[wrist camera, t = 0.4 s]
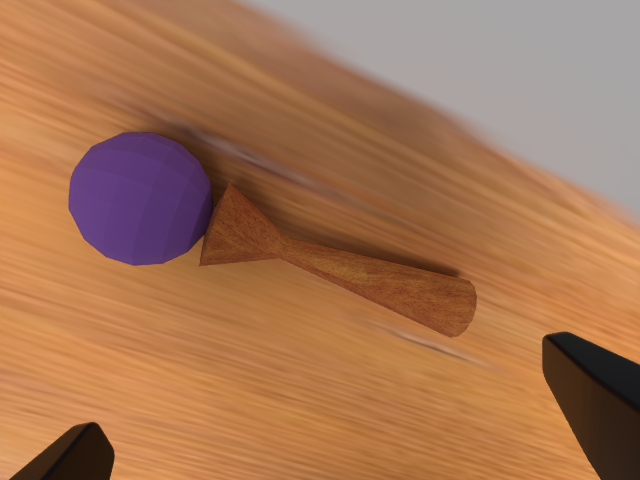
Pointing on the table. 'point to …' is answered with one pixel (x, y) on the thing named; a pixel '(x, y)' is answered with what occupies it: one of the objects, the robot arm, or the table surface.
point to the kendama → (231, 230)
